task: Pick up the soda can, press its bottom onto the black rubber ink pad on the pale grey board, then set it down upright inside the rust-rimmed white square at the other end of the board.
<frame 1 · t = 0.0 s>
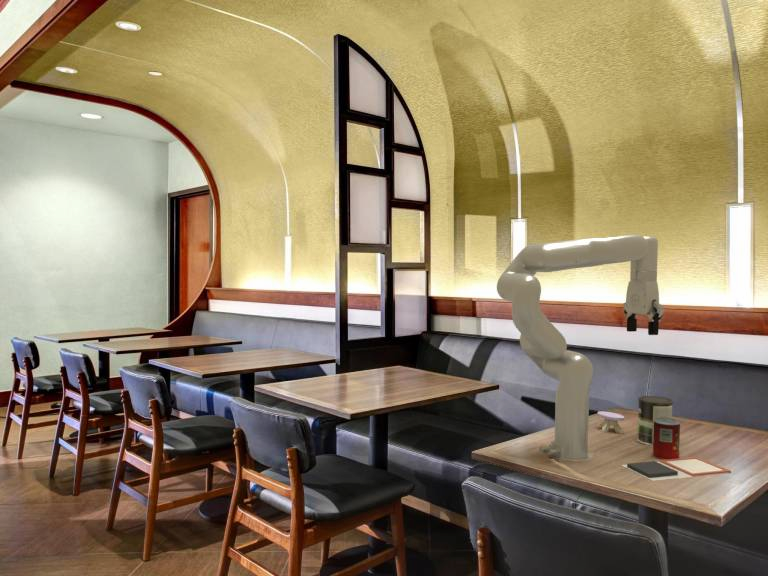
hand: (642, 333, 189), 37 cm above the table, tool pointing down, fingers open, 9 cm apart
ink pad: (651, 471, 169), resting on board
red bordered square panel: (694, 467, 173), resting on board
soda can: (665, 461, 182), on the table
coffee can: (654, 442, 201), on the table
toy table: (610, 431, 215), on the table
board: (673, 473, 171), on the table
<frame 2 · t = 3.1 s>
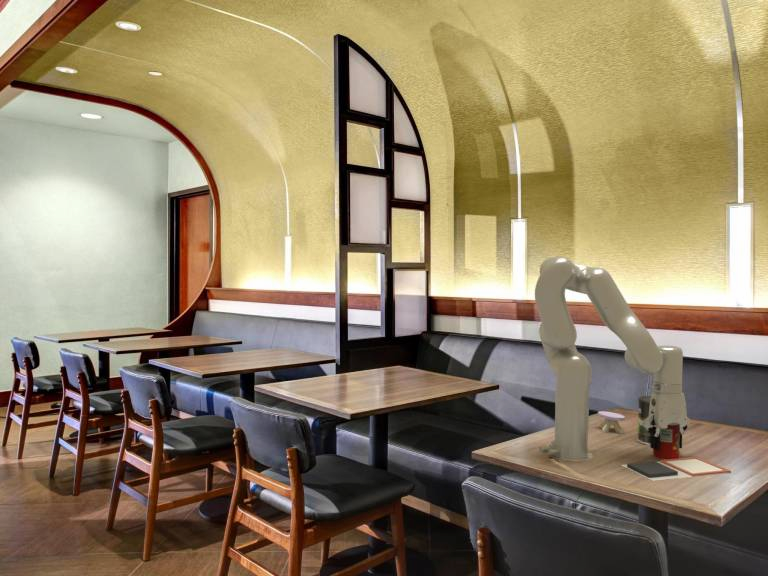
hand: (666, 447, 182), 4 cm above the table, tool pointing down, fingers closed on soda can, 7 cm apart
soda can: (665, 461, 182), on the table, touching gripper
everything else where it was.
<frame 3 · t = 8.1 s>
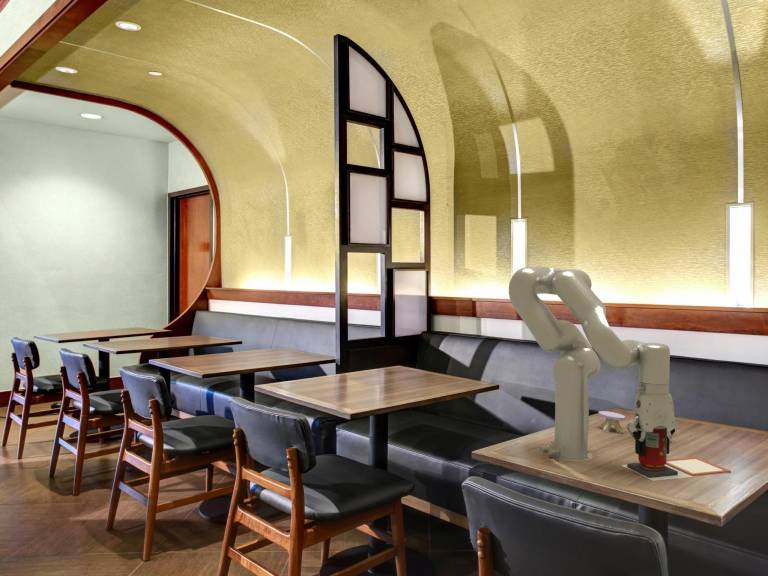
hand: (652, 453, 169), 6 cm above the table, tool pointing down, fingers closed on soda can, 7 cm apart
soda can: (652, 467, 169), point 2 cm above the table, touching gripper
everything else where it was.
when the fingers open (6 cm above the table, at t = 13.4 s): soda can stays where it is, resting on red bordered square panel.
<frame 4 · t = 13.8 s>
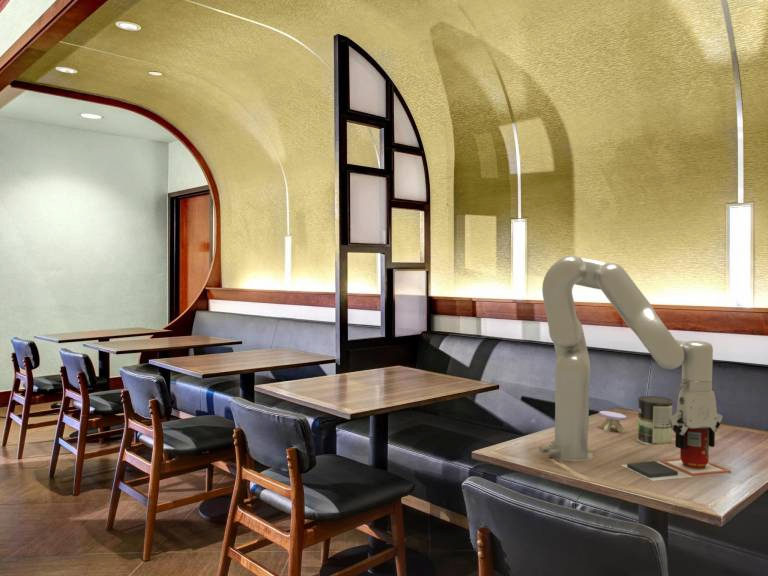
hand: (694, 446, 172), 7 cm above the table, tool pointing down, fingers open, 9 cm apart
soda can: (694, 466, 173), point 1 cm above the table, touching red bordered square panel
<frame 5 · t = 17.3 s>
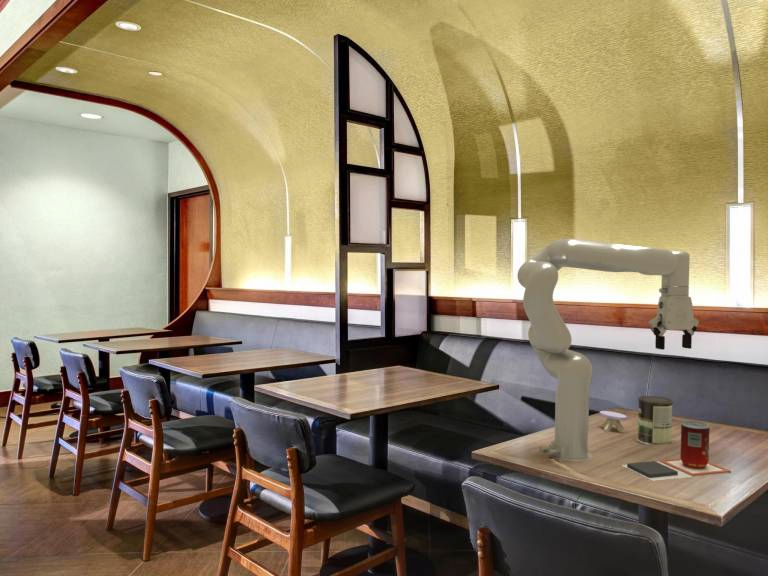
hand: (673, 348, 187), 32 cm above the table, tool pointing down, fingers open, 9 cm apart
at the end: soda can inside the target area on the red bordered square panel (0.0 cm from its centre), point 0.0 cm above the red bordered square panel's base; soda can tilted 1°; the gripper is holding nothing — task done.
